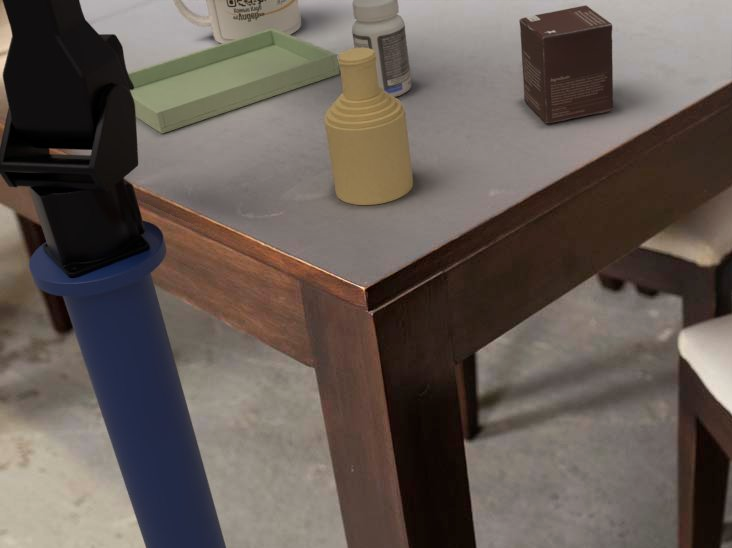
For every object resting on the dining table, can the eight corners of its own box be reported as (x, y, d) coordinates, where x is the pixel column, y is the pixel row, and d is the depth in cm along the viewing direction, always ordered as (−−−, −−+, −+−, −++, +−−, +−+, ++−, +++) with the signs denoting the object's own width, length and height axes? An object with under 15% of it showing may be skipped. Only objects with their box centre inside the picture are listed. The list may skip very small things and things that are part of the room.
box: (614, 112, 91) (614, 23, 87) (544, 126, 91) (541, 37, 87) (589, 88, 96) (587, 3, 92) (522, 101, 96) (518, 16, 92)
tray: (161, 134, 100) (156, 112, 99) (109, 99, 109) (104, 80, 108) (339, 74, 107) (336, 53, 106) (276, 46, 117) (273, 27, 116)
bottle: (377, 212, 82) (358, 73, 76) (319, 195, 85) (297, 61, 79) (429, 180, 85) (415, 45, 79) (371, 165, 89) (354, 35, 83)
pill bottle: (413, 79, 104) (403, -12, 99) (409, 97, 100) (399, 3, 95) (363, 83, 104) (351, -7, 100) (357, 102, 100) (344, 8, 96)
